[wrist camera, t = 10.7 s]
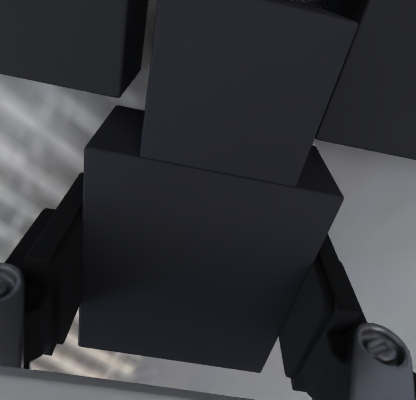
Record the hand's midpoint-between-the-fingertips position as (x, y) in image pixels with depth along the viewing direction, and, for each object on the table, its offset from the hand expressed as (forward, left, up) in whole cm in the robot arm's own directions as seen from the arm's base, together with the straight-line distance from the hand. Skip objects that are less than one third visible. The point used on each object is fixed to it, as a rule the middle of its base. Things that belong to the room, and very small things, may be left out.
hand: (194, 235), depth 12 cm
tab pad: (0, +2, -1) cm, 2 cm away
